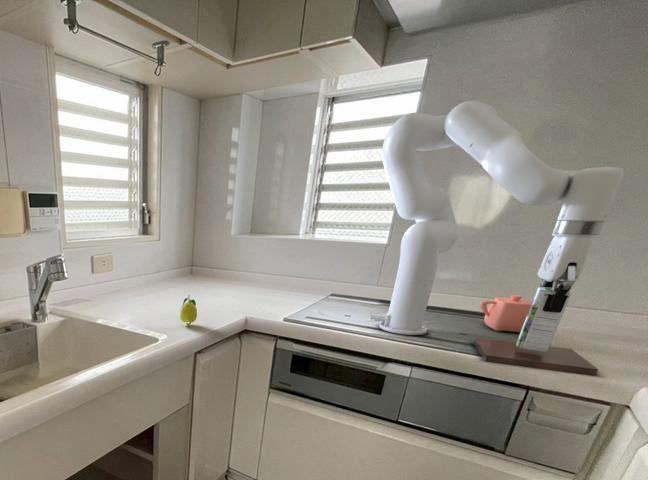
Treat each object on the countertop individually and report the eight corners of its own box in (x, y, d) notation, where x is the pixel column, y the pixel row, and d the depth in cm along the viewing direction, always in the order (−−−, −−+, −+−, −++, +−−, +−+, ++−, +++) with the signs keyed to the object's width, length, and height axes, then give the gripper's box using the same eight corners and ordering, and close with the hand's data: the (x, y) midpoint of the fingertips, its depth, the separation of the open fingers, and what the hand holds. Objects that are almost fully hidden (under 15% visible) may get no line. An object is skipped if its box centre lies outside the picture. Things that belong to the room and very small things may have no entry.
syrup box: (515, 342, 104) (536, 286, 98) (546, 347, 101) (569, 288, 95) (516, 348, 100) (537, 289, 94) (548, 353, 96) (572, 292, 91)
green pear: (181, 328, 127) (182, 297, 123) (175, 323, 132) (176, 293, 128) (201, 326, 129) (202, 295, 125) (194, 322, 134) (195, 292, 130)
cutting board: (484, 360, 99) (486, 355, 99) (473, 343, 112) (474, 337, 112) (595, 375, 90) (598, 369, 90) (569, 354, 103) (571, 348, 103)
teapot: (468, 321, 133) (478, 290, 129) (537, 327, 126) (550, 294, 122) (478, 330, 123) (489, 296, 119) (554, 337, 116) (568, 302, 112)
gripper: (542, 227, 98) (516, 300, 105) (568, 231, 84) (537, 314, 91) (583, 228, 95) (554, 303, 102) (618, 231, 81) (581, 318, 88)
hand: (546, 308), depth 96 cm, fingers closed on syrup box, 6 cm apart
